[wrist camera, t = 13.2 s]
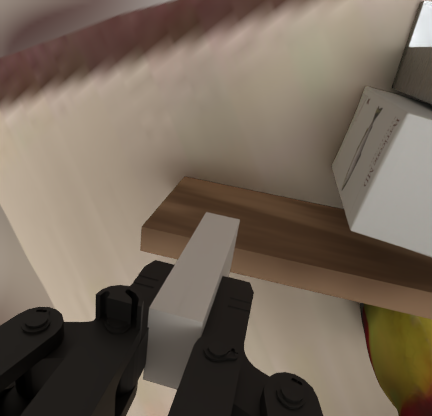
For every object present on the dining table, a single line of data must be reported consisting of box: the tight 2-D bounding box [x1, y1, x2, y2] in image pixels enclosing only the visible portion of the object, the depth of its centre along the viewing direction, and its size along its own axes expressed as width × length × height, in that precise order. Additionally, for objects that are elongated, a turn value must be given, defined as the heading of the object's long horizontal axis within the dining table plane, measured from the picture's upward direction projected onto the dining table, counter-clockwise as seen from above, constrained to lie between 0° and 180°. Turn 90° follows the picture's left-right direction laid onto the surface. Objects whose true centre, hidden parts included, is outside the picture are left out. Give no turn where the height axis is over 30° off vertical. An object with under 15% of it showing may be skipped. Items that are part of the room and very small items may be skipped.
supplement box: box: [332, 86, 432, 257], centre depth 24 cm, size 7×7×13 cm
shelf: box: [140, 177, 432, 319], centre depth 27 cm, size 12×30×11 cm, turn 82°
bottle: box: [359, 302, 432, 416], centre depth 27 cm, size 12×6×20 cm, turn 14°
